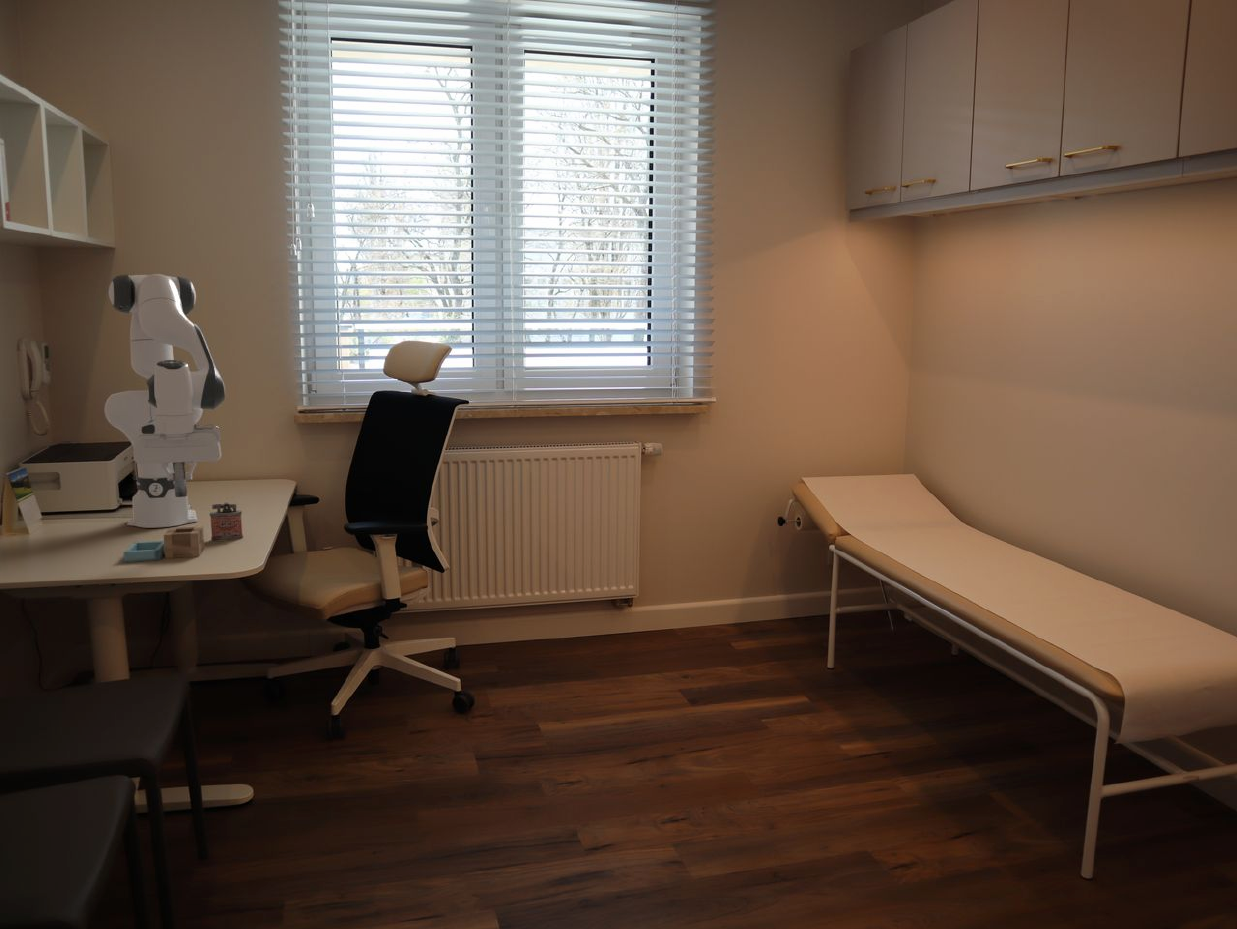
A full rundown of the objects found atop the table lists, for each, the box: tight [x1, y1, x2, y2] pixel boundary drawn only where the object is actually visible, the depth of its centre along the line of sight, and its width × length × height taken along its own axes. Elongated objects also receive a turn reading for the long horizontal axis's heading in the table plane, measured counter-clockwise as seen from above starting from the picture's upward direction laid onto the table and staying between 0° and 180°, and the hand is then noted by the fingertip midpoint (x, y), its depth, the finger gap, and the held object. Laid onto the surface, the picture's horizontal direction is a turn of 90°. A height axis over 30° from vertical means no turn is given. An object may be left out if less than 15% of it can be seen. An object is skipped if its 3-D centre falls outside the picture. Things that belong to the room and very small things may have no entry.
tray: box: [123, 540, 165, 563], centre depth 251 cm, size 11×8×2 cm
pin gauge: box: [173, 462, 188, 497], centre depth 250 cm, size 3×3×11 cm
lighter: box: [209, 502, 244, 542], centre depth 269 cm, size 8×3×10 cm, turn 111°
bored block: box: [163, 526, 206, 559], centre depth 253 cm, size 8×8×6 cm
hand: (180, 479), depth 251 cm, fingers closed on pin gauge, 3 cm apart
